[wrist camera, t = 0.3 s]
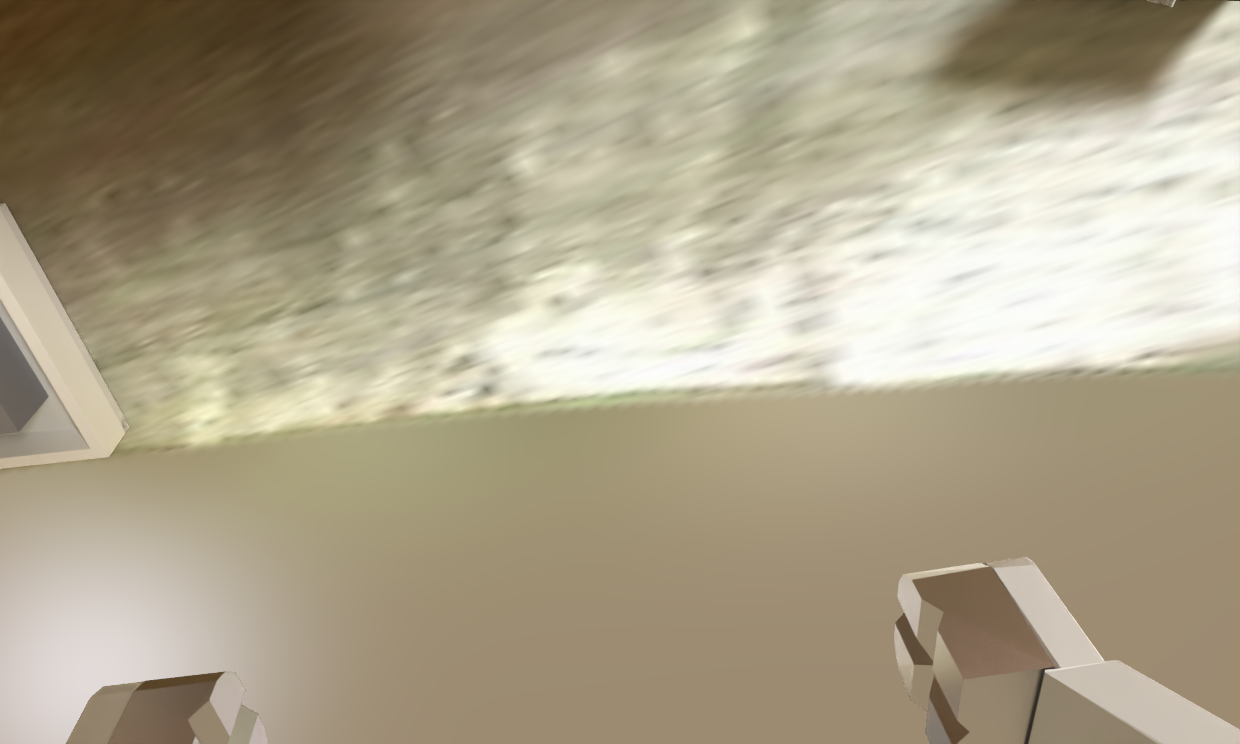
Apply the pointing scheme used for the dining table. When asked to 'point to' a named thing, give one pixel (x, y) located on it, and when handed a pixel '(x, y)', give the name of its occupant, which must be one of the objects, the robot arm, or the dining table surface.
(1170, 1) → the food container
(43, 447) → the tray
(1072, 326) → the dining table surface
